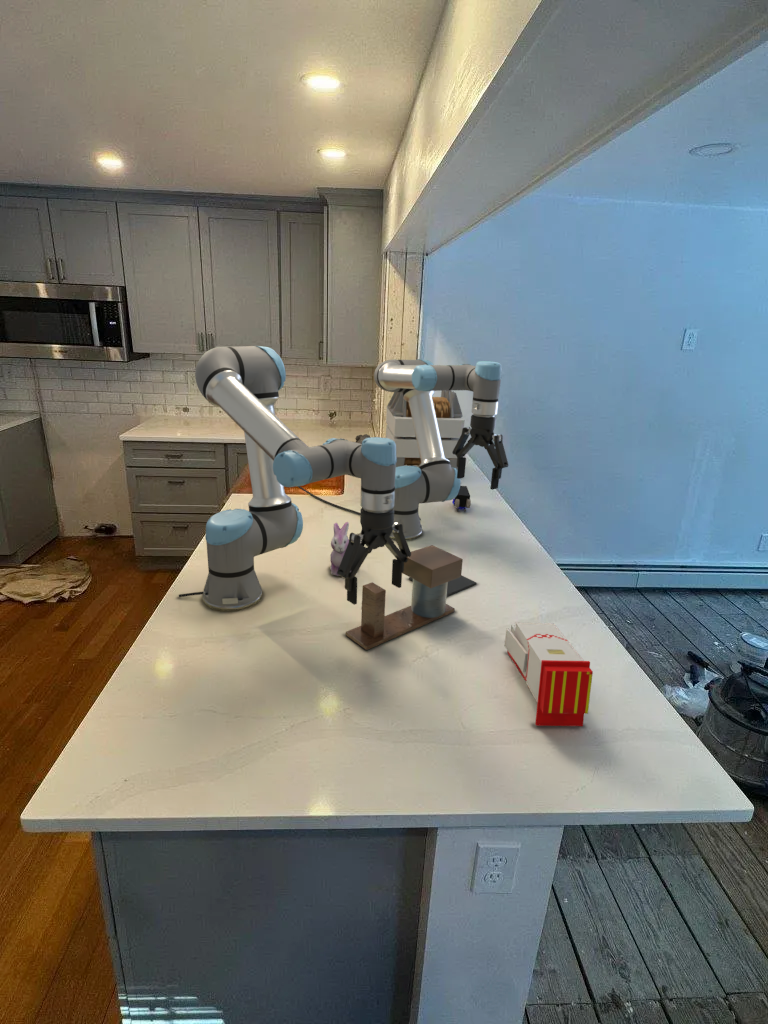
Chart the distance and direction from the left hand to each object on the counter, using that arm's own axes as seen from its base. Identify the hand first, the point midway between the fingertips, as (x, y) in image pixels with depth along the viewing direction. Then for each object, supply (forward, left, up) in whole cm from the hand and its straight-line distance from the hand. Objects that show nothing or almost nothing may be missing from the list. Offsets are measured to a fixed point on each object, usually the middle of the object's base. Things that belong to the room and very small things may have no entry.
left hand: (374, 593), depth 133 cm
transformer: (-15, +147, -12) cm, 148 cm away
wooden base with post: (+6, +8, -12) cm, 15 cm away
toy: (+39, -7, -12) cm, 41 cm away
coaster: (+12, +34, -12) cm, 38 cm away
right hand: (+18, +56, +13) cm, 60 cm away
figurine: (-18, +33, -12) cm, 39 cm away
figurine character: (+10, +103, -12) cm, 104 cm away
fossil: (-53, +173, -12) cm, 181 cm away
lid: (+11, +16, -1) cm, 19 cm away
